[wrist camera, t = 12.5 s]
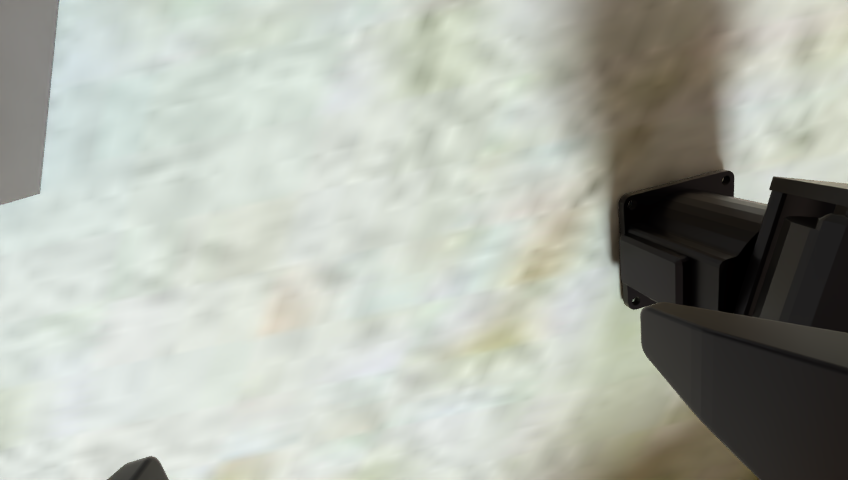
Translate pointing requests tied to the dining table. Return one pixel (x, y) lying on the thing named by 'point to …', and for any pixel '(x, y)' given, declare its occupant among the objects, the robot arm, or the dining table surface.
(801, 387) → the robot arm
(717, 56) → the dining table surface
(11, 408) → the dining table surface
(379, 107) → the dining table surface
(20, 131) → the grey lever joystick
